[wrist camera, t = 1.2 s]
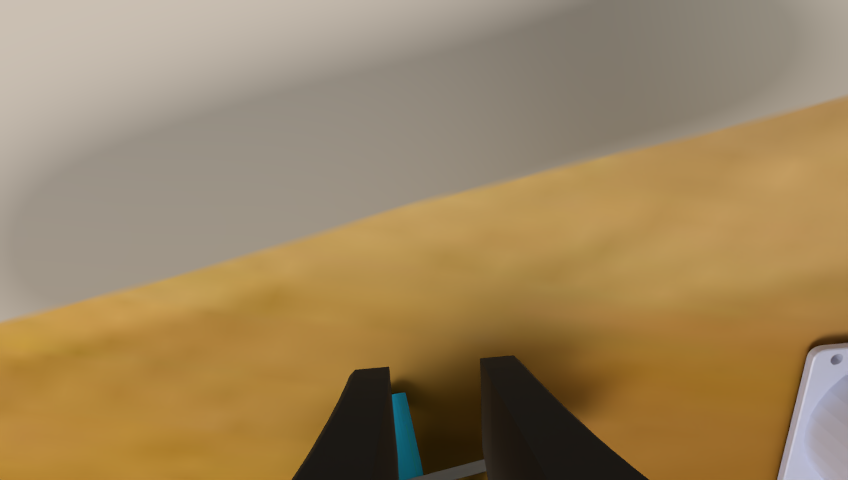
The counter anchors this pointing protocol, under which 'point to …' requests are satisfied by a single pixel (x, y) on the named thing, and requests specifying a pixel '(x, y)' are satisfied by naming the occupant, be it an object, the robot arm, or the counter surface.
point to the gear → (409, 454)
